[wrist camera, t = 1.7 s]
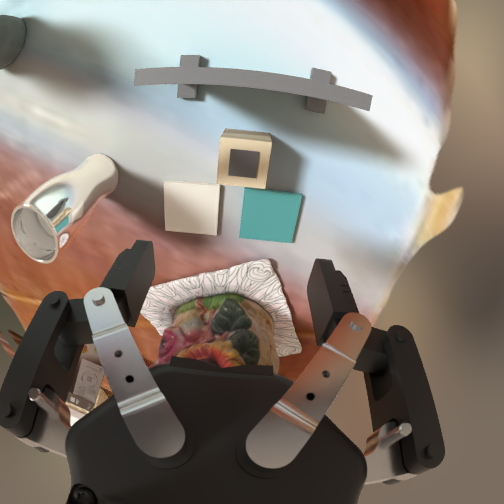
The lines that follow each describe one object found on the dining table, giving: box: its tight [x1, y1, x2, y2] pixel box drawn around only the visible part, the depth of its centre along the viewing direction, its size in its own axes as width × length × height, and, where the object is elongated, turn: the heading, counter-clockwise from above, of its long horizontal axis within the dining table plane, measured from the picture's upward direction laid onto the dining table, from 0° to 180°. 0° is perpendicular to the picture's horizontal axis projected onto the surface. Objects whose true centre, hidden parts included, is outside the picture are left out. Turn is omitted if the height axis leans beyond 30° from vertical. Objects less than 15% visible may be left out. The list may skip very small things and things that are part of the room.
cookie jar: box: [140, 259, 302, 374], centre depth 35 cm, size 25×25×32 cm
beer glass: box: [11, 154, 119, 264], centre depth 25 cm, size 7×7×15 cm
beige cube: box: [217, 129, 272, 189], centre depth 28 cm, size 5×5×5 cm
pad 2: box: [239, 187, 302, 243], centre depth 35 cm, size 7×7×1 cm
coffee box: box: [66, 344, 105, 412], centre depth 48 cm, size 9×6×16 cm
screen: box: [134, 55, 372, 113], centre depth 20 cm, size 5×16×13 cm, turn 83°
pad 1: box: [164, 180, 220, 235], centre depth 34 cm, size 7×7×1 cm
